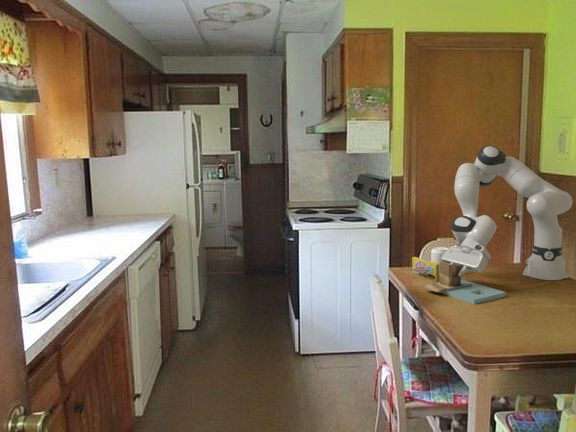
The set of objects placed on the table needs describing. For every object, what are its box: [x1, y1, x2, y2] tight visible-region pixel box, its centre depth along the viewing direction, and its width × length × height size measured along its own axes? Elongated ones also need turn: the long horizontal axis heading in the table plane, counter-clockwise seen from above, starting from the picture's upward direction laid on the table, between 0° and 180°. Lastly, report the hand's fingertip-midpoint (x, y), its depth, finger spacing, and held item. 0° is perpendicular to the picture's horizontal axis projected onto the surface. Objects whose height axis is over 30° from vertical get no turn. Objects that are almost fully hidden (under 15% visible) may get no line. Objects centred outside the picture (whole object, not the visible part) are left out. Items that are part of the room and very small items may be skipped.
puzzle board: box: [429, 278, 507, 305], centre depth 207 cm, size 18×23×3 cm
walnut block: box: [451, 264, 462, 287], centre depth 212 cm, size 4×4×9 cm
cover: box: [422, 262, 454, 293], centre depth 207 cm, size 9×8×10 cm
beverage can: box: [430, 246, 449, 276], centre depth 239 cm, size 8×8×12 cm
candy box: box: [411, 256, 440, 283], centre depth 233 cm, size 16×2×8 cm, turn 27°
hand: (453, 274), depth 212 cm, fingers closed on walnut block, 3 cm apart
